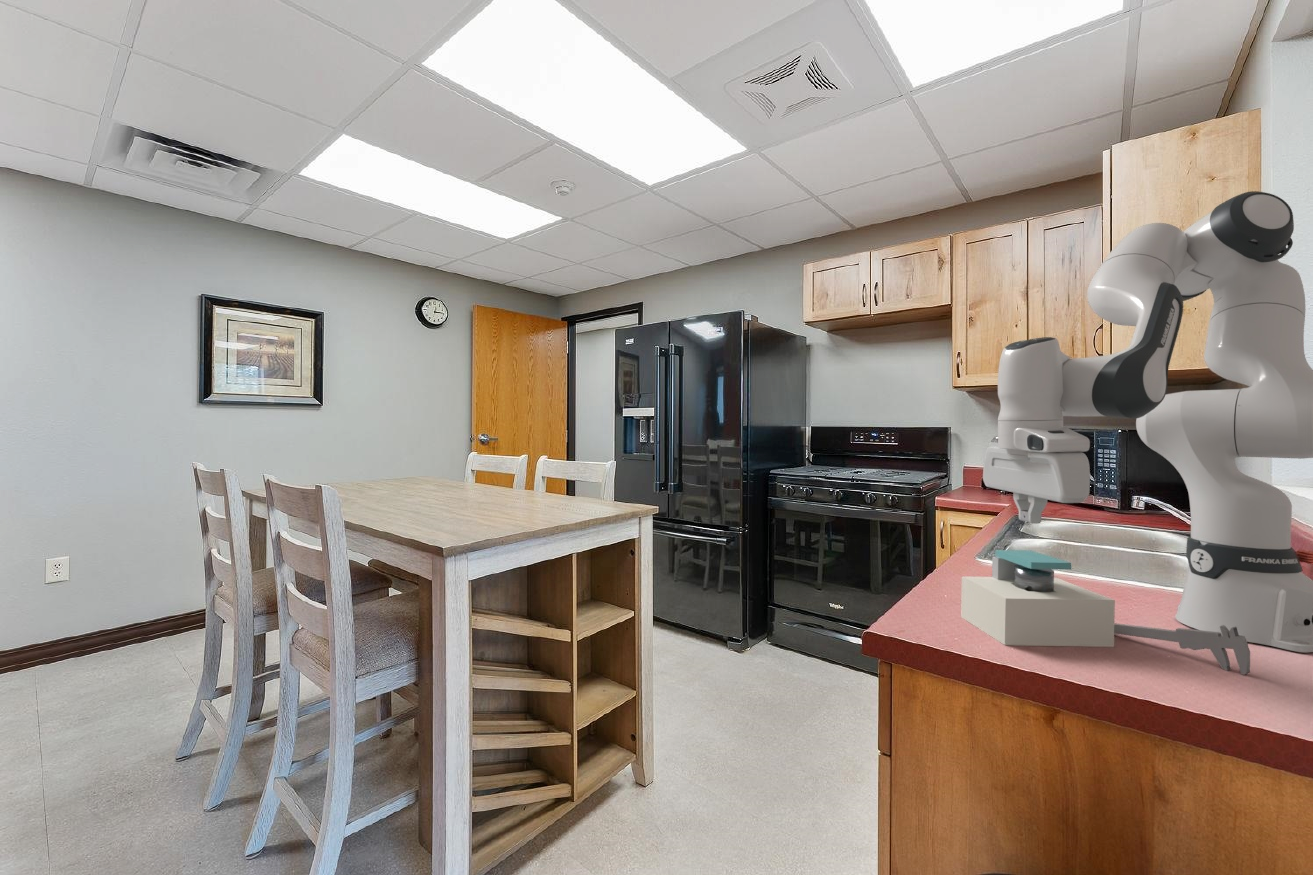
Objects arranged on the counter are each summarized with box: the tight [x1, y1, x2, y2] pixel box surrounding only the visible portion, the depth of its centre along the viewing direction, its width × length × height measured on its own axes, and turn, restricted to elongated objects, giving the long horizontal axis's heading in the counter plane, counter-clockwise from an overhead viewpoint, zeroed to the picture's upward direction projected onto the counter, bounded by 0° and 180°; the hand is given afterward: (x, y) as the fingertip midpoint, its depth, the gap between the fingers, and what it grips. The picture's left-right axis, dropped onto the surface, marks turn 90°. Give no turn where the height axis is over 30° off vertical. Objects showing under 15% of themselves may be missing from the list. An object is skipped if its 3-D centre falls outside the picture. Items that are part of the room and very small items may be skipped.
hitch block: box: [960, 556, 1116, 648], centre depth 87 cm, size 16×12×10 cm
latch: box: [994, 549, 1072, 570], centre depth 87 cm, size 6×9×1 cm, turn 179°
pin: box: [1014, 565, 1055, 592], centre depth 87 cm, size 5×5×10 cm
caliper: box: [1114, 622, 1251, 676], centre depth 81 cm, size 20×1×6 cm, turn 25°
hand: (1029, 521), depth 89 cm, fingers closed
